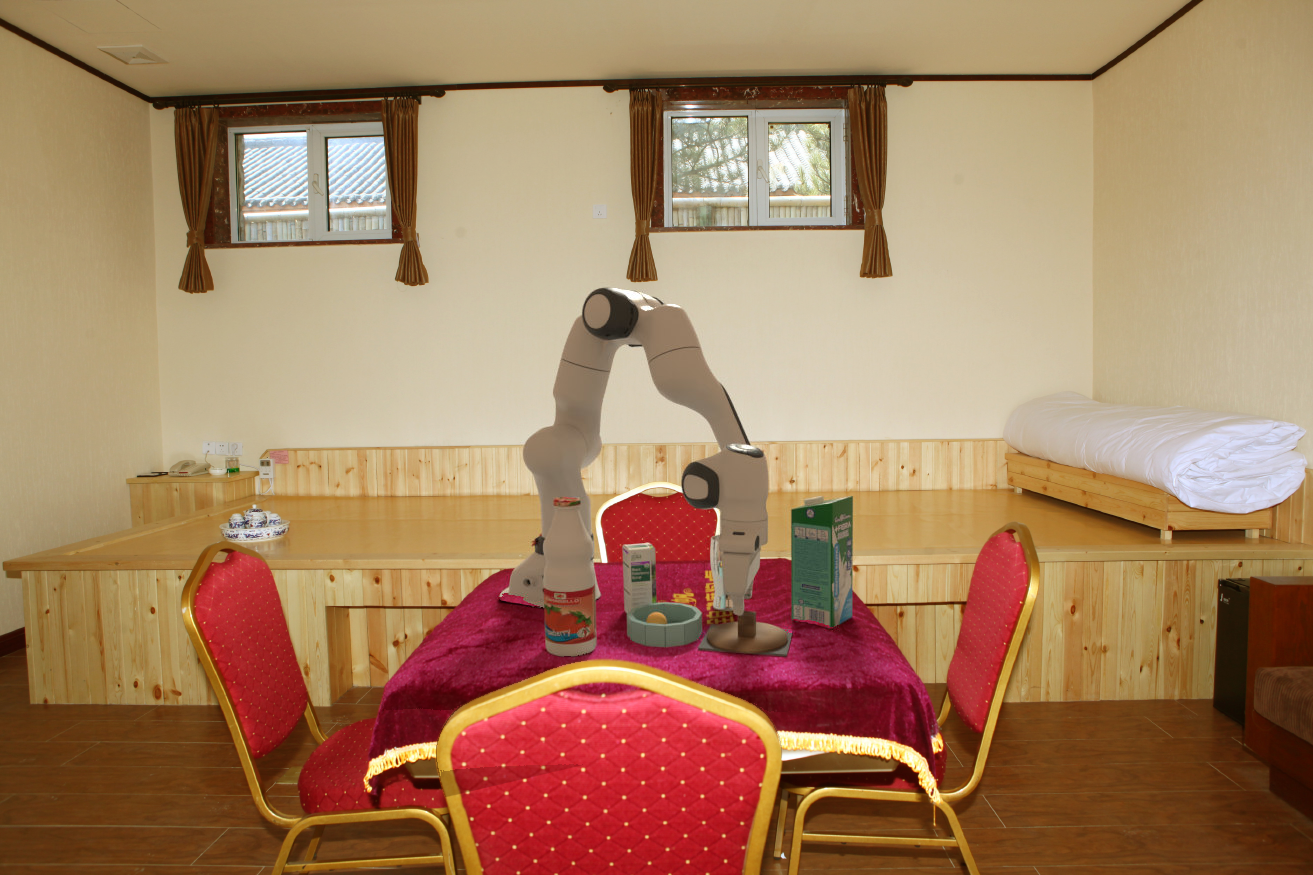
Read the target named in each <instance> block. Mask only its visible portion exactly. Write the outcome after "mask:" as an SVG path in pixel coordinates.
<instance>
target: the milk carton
mask: <svg viewBox="0 0 1313 875" xmlns="http://www.w3.org/2000/svg"><path fill="white" fill-rule="evenodd" d="M803 502H804V505H801V506H798V507H794V508H791V510H790V512H791V513H790V514H791V515H790V516H791V517H790V524H791V525H790V529H791V530H790V534H791V536H790V538H791V539H790V540H791V542H790V543H791V544H790V550H791V551H790V552H791V554H790V556H791V557H790V558H791V563H790V564H791V565H790V567H791V569H790V570H791V571H790V573H791V574H790V575H791V577H790V579H791V582H790V584H791V586H790V587H791V590H790V592H791V593H790V595H791V596H790V599H791V605H790V606H791V615H790V616H791V619H798V620H811V621H816V622H819V623H823V624H825V625H829V626H830V627H834V626H836V627H837V625H838V626H839V625H841V624H843V623H844V622H846V621H847V620H850V619H851V618H853V578H854V577H853V566H854V565H853V564H854V562H853V561H854V560H853V553H854V552H853V551H854V550H853V549H854V547H853V546H854V545H853V544H854V543H853V542H854V541H853V540H854V538H853V537H854V535H853V534H854V533H853V532H854V526H853V525H854V523H853V522H854V516H853V515H854V496H852V495H851V496H850V495H849V496H845V497H837V498H831V499H827V500H826V499H825V498H824V495H820V496H815V497H814V496H813V497H807V498H805V499H803ZM834 628H835V627H834Z"/></svg>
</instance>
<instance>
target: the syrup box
mask: <svg viewBox="0 0 1313 875" xmlns="http://www.w3.org/2000/svg"><path fill="white" fill-rule="evenodd" d="M656 562H657V560H656V547H654V546H653V544H651V543H650V542H645V543H633V544H631V543H630V544H623V545H622V570H623V573H622V574H623V601H624V602H623V604H624V611H625V613H626V615H627V614H628V612H629V611H630V610H631V609H632V608H635V607H638V606H641V605H644V604H651V603H658V602H657V599H658V598H657V569H656V566H657V565H656V564H657V563H656Z"/></svg>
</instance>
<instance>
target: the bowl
mask: <svg viewBox="0 0 1313 875" xmlns="http://www.w3.org/2000/svg"><path fill="white" fill-rule="evenodd" d="M654 612H659V613H662V614H663V615H664V616H665V617H666V619H667V624H653V623H646V620H647V618H648V616H649V615H650V614H652V613H654ZM701 633H702V634H703V613H702V611H700V610H699V608H697V607H696V606H693V605H690V604H686V603H682V602H669V601H667V602H665V601H663V602H657V603H651V604H644V605H641V606H638V607H635V608H632V609H631V610H630V611H629V612H628V614H627V613H626V634H627V637H628V638H629V637H630V638H629V640H630V641H631V640H632V641H631V642H633V641H634V642H633V643H636V644H639V645H641V646H645V647H658V648H670V647H680V646H686V645H689V644H691V643H694V642H696V641H698V640H700V638H701V636H702V634H701ZM700 635H701V636H700ZM699 637H700V638H699ZM697 639H698V640H697Z"/></svg>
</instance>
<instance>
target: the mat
mask: <svg viewBox="0 0 1313 875" xmlns="http://www.w3.org/2000/svg"><path fill="white" fill-rule="evenodd" d="M717 625H718V624H710V625H709V628H708V629H707V630H706V633H705V635H704V636H703V638H702V640H701V642H700V643H699V645H698V646H697V650H698V651H709V652H710V651H711V652H722V653H730V652H729V651H725V650H722V649H719V648H716V647H714V646H712V645H711V644H710V643H709V642H708V641H707V632H708V631H709V630H710V629H711V628H712V627H714V626H717ZM782 629H783V630H784V631H785V630H787V631H785V632H786V633H787V632H788V630H789V629H787V628H782ZM787 635H788V641H787V643H786V644H785V645H784V646H783V647H781V648H779V649H777V650H773V651H769V652H763V653H746V655H747V654H748V655H759V656H760V655H761V656H775V657H776V656H777V657H785V658H786V657H788V653H789V649H790V646H791V642H792V638H793V634H792V633H789V632H788V633H787ZM791 637H792V638H791ZM732 653H735V652H732Z"/></svg>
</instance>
